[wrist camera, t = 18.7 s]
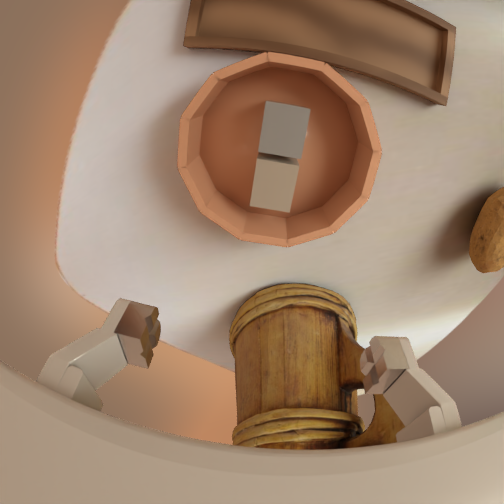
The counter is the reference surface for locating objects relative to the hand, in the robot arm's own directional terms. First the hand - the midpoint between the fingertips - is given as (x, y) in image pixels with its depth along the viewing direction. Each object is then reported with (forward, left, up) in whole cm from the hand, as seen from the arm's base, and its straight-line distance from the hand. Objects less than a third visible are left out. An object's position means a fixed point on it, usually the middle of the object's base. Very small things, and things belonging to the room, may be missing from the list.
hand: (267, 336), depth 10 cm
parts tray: (-17, +3, -21) cm, 27 cm away
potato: (-2, +30, -21) cm, 37 cm away
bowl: (-3, 0, -21) cm, 21 cm away
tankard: (+20, +8, -21) cm, 30 cm away
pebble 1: (-5, 0, -20) cm, 20 cm away
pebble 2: (0, 0, -20) cm, 20 cm away
